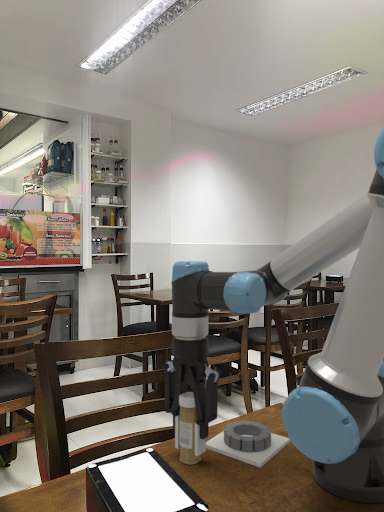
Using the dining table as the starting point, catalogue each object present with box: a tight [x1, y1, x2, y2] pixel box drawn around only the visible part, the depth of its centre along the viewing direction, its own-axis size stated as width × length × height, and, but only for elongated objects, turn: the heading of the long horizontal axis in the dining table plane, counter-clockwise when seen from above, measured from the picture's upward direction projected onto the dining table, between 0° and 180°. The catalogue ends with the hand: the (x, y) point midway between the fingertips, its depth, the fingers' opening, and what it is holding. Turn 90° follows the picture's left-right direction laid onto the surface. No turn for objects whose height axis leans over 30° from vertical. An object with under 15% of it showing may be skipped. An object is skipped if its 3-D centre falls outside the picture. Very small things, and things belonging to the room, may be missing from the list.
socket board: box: [206, 420, 291, 469], centre depth 91 cm, size 14×14×3 cm
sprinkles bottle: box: [179, 391, 202, 466], centre depth 84 cm, size 5×5×14 cm
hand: (190, 449), depth 84 cm, fingers closed on sprinkles bottle, 4 cm apart
